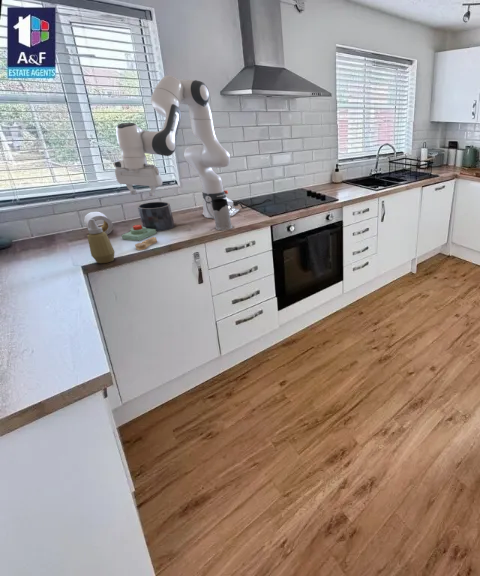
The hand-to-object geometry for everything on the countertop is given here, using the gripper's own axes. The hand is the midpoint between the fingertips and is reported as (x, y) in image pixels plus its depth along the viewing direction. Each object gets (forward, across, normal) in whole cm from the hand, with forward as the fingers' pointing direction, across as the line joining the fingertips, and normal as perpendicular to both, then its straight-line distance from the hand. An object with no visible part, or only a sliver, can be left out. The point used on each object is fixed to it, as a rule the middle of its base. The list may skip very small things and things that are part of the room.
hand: (143, 195), depth 167 cm
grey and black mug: (+22, -16, -30) cm, 41 cm away
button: (+19, +13, -6) cm, 24 cm away
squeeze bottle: (+23, +3, +25) cm, 34 cm away
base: (+22, +13, -6) cm, 27 cm away
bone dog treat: (+23, 0, +5) cm, 23 cm away
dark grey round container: (+22, +14, -21) cm, 34 cm away
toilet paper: (+23, +34, -5) cm, 42 cm away
